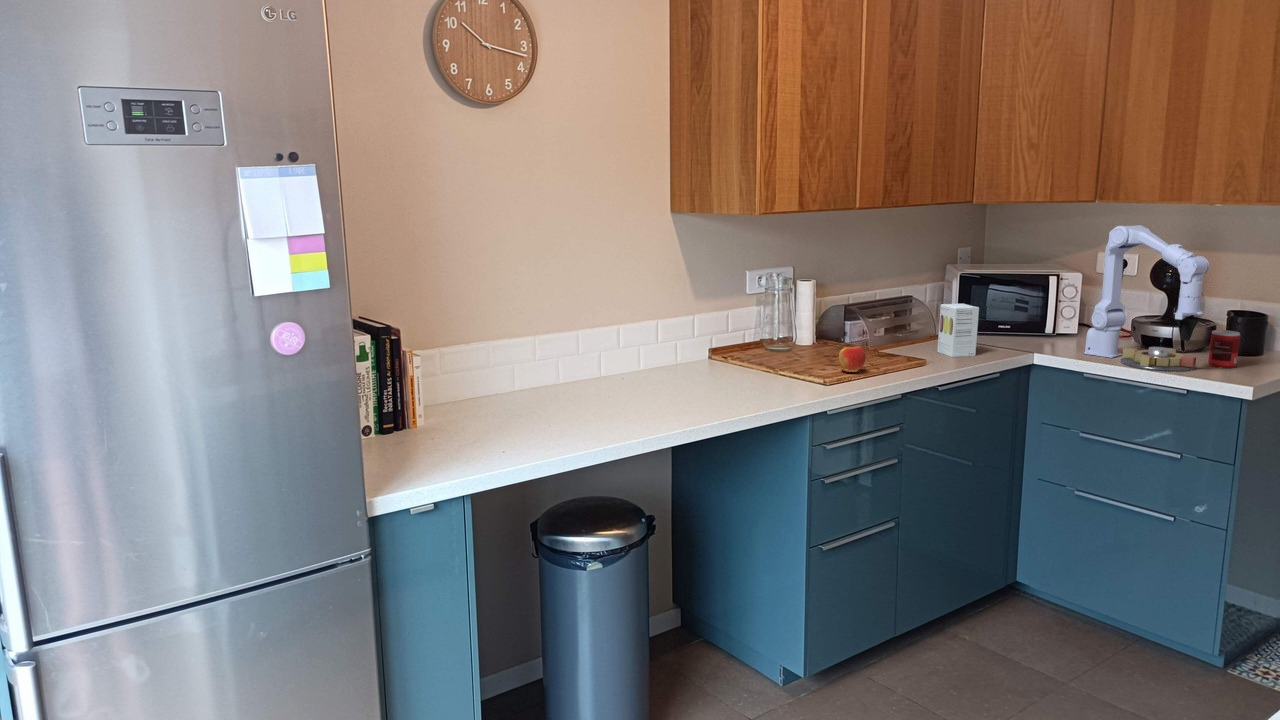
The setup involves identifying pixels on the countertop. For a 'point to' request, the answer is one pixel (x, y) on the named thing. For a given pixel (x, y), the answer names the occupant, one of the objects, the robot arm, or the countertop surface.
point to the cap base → (1156, 353)
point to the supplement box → (958, 330)
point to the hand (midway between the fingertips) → (1185, 340)
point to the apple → (852, 358)
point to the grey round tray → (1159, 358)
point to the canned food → (1224, 348)
